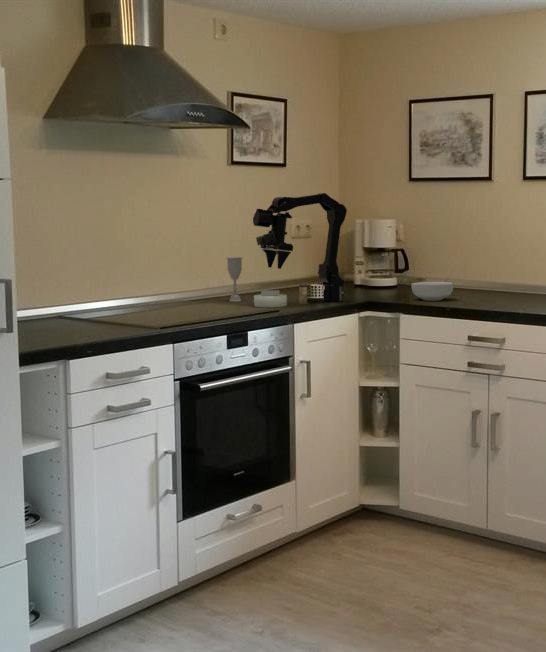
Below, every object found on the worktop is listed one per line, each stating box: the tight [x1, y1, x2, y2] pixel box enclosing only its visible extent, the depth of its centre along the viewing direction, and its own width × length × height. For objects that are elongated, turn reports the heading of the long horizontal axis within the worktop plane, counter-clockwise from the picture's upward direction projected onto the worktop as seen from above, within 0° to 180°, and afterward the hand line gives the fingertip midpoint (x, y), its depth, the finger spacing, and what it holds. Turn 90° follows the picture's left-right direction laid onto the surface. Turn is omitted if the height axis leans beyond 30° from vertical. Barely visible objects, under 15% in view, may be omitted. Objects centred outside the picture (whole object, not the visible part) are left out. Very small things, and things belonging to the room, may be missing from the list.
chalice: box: [226, 256, 244, 302], centre depth 398 cm, size 7×7×18 cm
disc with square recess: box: [253, 289, 288, 308], centre depth 378 cm, size 13×13×6 cm
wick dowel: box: [298, 284, 308, 305], centre depth 384 cm, size 3×3×8 cm
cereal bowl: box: [411, 281, 454, 302], centre depth 394 cm, size 17×17×7 cm
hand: (274, 268), depth 380 cm, fingers open, 9 cm apart
